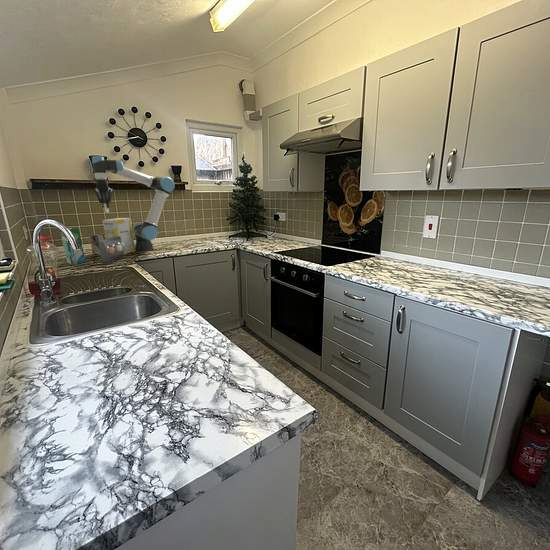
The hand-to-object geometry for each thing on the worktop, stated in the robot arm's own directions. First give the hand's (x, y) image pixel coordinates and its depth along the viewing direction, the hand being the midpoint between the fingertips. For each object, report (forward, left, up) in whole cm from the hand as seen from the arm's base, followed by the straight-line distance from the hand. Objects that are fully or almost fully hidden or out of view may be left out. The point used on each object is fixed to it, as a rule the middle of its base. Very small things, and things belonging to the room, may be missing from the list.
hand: (107, 212), depth 221 cm
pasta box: (-10, -12, -35) cm, 38 cm away
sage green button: (-4, +6, -28) cm, 29 cm away
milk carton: (+25, -4, -35) cm, 43 cm away
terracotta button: (+7, +17, -28) cm, 33 cm away
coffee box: (+4, -22, -35) cm, 41 cm away
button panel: (+5, +8, -34) cm, 36 cm away
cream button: (0, +13, -28) cm, 30 cm away
